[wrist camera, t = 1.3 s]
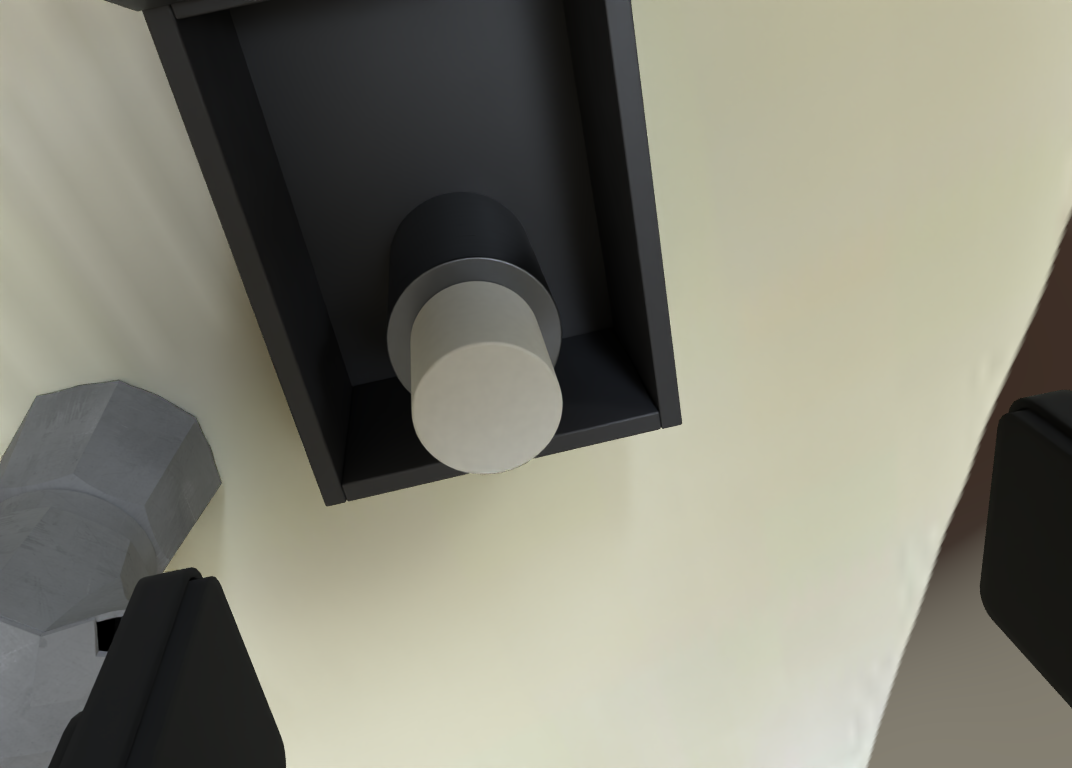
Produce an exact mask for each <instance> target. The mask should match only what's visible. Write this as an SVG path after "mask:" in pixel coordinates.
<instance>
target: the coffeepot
mask: <svg viewBox="0 0 1072 768" xmlns="http://www.w3.org/2000/svg"><path fill="white" fill-rule="evenodd" d="M221 484H222V482H221V479H220V477H219V474H218V471H217V468H216V466H215V463H214V459H213V455H212V451H211V448H210V446H209V444H208V442H207V440H206V438H205V436H204V434H203V432H202V431H201V428H200V426H199V423H198V421H197V418H195V417H194V416H192V415H190V414H189V413H187V412H185V411H184V410H182V409H180V408H179V407H177V406H175V405H174V404H172V403H170V402H169V401H167V400H165V399H164V398H162V397H160V396H158V395H156V394H153V393H151V392H148V391H146V390H143V389H140V388H136V387H132V386H130V385H128V384H126V383H124V382H122V381H120V380H117V381H110V382H103V383H95V384H85V385H79V386H75V387H72V388H68V389H65V390H61V391H59V392H55V393H50V394H45V395H40V396H36V398H35V400H34V401H33V403H32V405H31V407H30V409H29V410H28V412H27V414H26V416H25V418H24V419H23V421H22V423H21V425H20V427H19V428H18V430H17V432H16V434H15V436H14V437H13V439H12V441H11V443H10V445H9V446H8V448H7V450H6V452H5V453H4V455H3V457H2V460H1V462H0V768H48V766H49V764H50V762H51V759H52V757H53V755H54V753H55V750H56V748H57V746H58V743H59V741H60V739H61V736H62V734H63V732H64V730H65V728H66V727H67V725H68V723H69V722H70V720H71V718H73V717H74V716H75V715H77V714H78V713H79V712H81V711H83V709H84V707H85V704H86V702H87V700H88V697H89V695H90V693H91V690H92V688H93V685H94V683H95V681H96V678H97V676H98V674H99V671H100V669H101V667H102V664H103V662H104V659H105V657H106V655H107V652H108V650H109V648H110V645H111V643H112V640H113V638H114V636H115V633H116V631H117V629H118V626H119V624H120V622H121V619H122V617H123V614H124V612H125V610H126V607H127V605H128V603H129V600H130V598H131V596H132V593H133V591H134V588H135V586H136V584H137V583H138V581H139V580H140V579H141V578H143V577H147V576H151V575H156V574H161V573H163V571H164V570H165V568H166V567H167V565H168V564H169V562H170V561H171V559H172V558H173V556H174V555H175V553H176V552H177V550H178V548H179V547H180V545H181V544H182V542H183V541H184V539H185V538H186V536H187V535H188V533H189V532H190V530H191V529H192V527H193V526H194V524H195V523H196V521H197V520H198V518H199V517H200V515H201V514H202V512H203V511H204V509H205V508H206V506H207V505H208V503H209V502H210V500H211V499H212V497H213V496H214V494H215V493H216V491H217V490H218V488H219V487H220V485H221Z"/></svg>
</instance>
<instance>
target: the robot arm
mask: <svg viewBox="0 0 1072 768" xmlns="http://www.w3.org/2000/svg"><path fill="white" fill-rule="evenodd" d="M980 594H981V599H982V602H983V605H984V607H985V609H986V611H987V613H988V615H989V616H990V617H991V619H992V620H993V621H994V622H995V623H996V624H997V625H998V627H999V628H1000V629H1001V630H1002V631H1003V632H1004V633H1005V634H1006V636H1007V637H1008V638H1009V639H1010V640H1011V641H1012V642H1013V643H1014V644H1015V646H1016V647H1017V648H1018V649H1019V650H1020V651H1021V652H1022V653H1023V654H1024V655H1025V657H1026V658H1027V659H1028V660H1029V661H1030V662H1031V663H1032V664H1033V666H1035V668H1036V669H1037V670H1038V671H1039V672H1040V673H1041V674H1042V676H1043V677H1044V678H1045V679H1046V680H1047V681H1048V682H1049V683H1050V684H1051V686H1052V687H1054V689H1055V690H1056V691H1057V692H1058V693H1059V694H1060V695H1061V696H1062V698H1063V699H1064V700H1065V701H1066V702H1067V703H1068V704H1069V705H1070V707H1071V708H1072V391H1070V390H1059V391H1055V392H1049V393H1044V394H1039V395H1035V396H1030V397H1025V398H1020V399H1018V400H1016V401H1014V403H1013V404H1012V405H1011V407H1010V409H1009V413H1007V414H1005V415H1003V416H1002V417H1001V419H1000V420H999V424H998V429H997V439H996V447H995V456H994V466H993V474H992V483H991V492H990V501H989V511H988V519H987V528H986V536H985V545H984V554H983V563H982V572H981V581H980ZM48 768H286V758H285V750H284V745H283V741H282V738H281V735H280V733H279V730H278V728H277V725H276V723H275V720H274V718H273V715H272V713H271V710H270V708H269V705H268V702H267V700H266V697H265V695H264V692H263V690H262V687H261V685H260V682H259V680H258V677H257V675H256V672H255V670H254V667H253V665H252V662H251V660H250V657H249V655H248V652H247V650H246V647H245V645H244V642H243V640H242V637H241V635H240V632H239V630H238V627H237V625H236V622H235V620H234V617H233V614H232V612H231V609H230V607H229V604H228V602H227V599H226V597H225V594H224V592H223V589H222V587H221V585H220V583H219V581H218V580H217V578H216V577H213V576H211V577H206V578H203V577H202V575H201V573H200V572H199V571H198V570H197V569H196V568H192V567H191V568H186V569H181V570H176V571H171V572H166V573H161V574H156V575H151V576H147V577H143V578H141V579H140V580H139V581H138V583H137V584H136V586H135V588H134V591H133V593H132V596H131V598H130V600H129V603H128V605H127V607H126V610H125V612H124V614H123V617H122V619H121V622H120V624H119V626H118V629H117V631H116V633H115V636H114V638H113V640H112V643H111V645H110V648H109V650H108V652H107V655H106V657H105V659H104V662H103V664H102V667H101V669H100V671H99V674H98V676H97V678H96V681H95V683H94V685H93V688H92V690H91V693H90V695H89V697H88V700H87V702H86V704H85V707H84V709H83V711H81V712H79V713H78V714H77V715H75V716H74V717H73V718H71V720H70V722H69V723H68V725H67V727H66V728H65V730H64V732H63V734H62V736H61V739H60V741H59V743H58V746H57V748H56V750H55V753H54V755H53V757H52V759H51V762H50V764H49V766H48Z"/></svg>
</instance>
